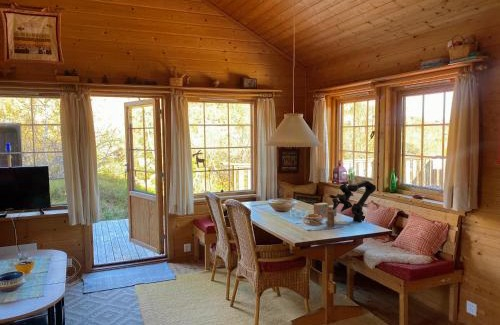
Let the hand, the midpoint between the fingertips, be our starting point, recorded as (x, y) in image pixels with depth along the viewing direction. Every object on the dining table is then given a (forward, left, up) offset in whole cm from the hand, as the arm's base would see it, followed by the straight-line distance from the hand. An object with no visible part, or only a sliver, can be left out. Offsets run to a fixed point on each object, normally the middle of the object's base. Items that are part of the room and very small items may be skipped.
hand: (336, 210), depth 321 cm
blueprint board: (-2, -6, -13) cm, 14 cm away
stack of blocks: (+3, -35, -13) cm, 37 cm away
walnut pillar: (+6, +4, -13) cm, 15 cm away
